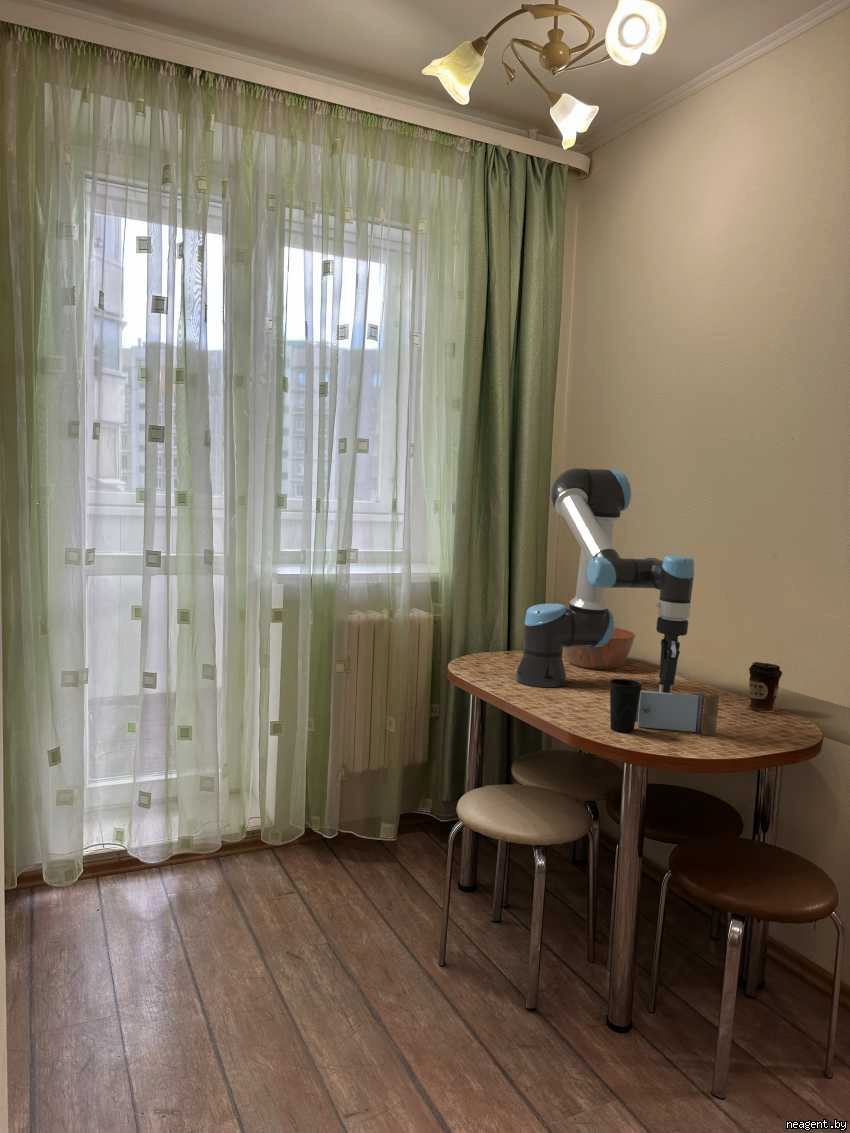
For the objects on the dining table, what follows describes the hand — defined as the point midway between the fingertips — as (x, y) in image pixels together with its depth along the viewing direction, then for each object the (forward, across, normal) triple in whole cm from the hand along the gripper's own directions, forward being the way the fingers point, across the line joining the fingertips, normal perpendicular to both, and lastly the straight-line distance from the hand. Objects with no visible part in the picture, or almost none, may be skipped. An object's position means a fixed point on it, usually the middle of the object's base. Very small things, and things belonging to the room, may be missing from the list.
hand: (663, 709), depth 218 cm
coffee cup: (+5, -25, +31) cm, 40 cm away
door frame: (+4, 0, +2) cm, 5 cm away
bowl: (+6, -69, -12) cm, 71 cm away
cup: (+5, +7, -11) cm, 13 cm away
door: (+4, +3, +1) cm, 6 cm away
